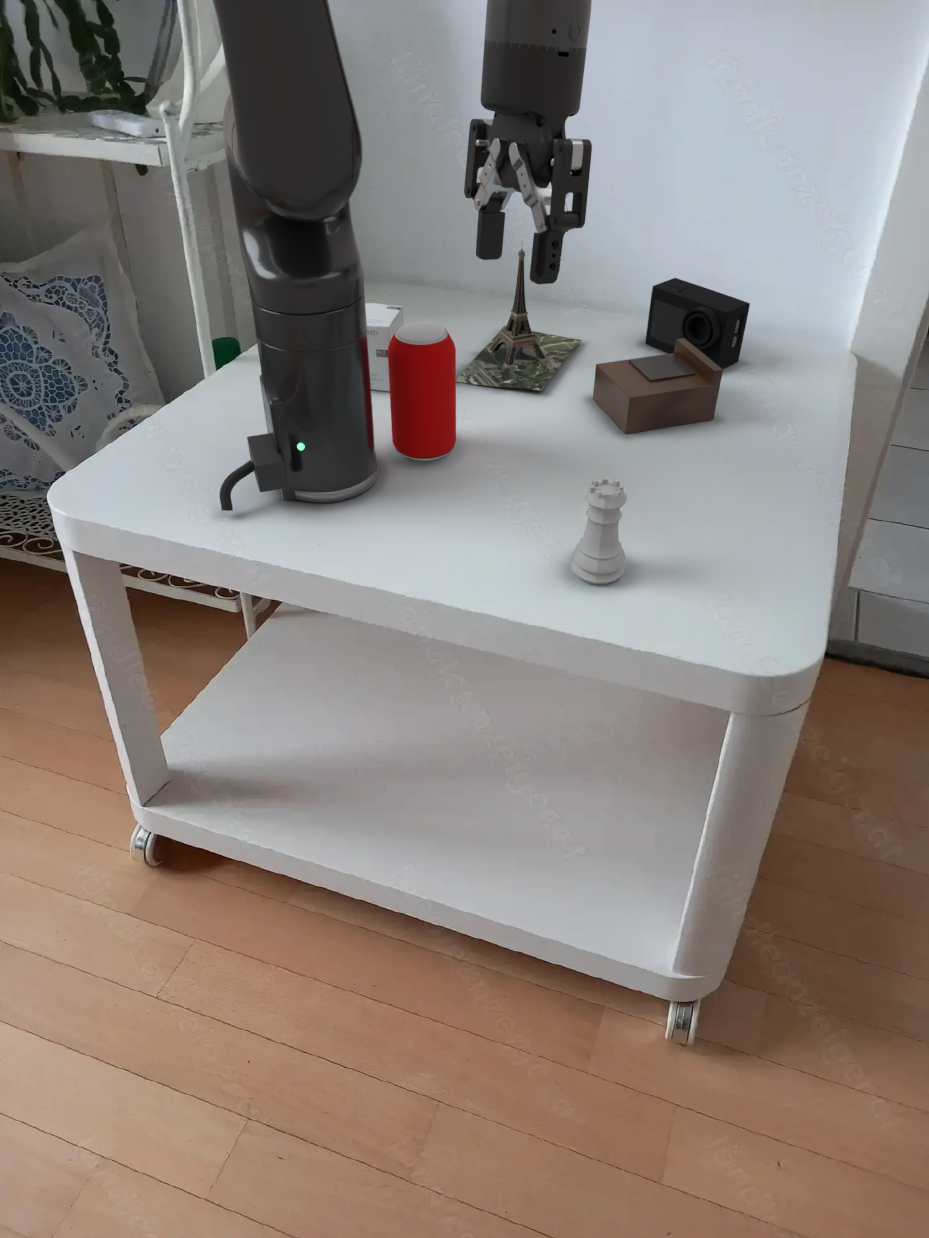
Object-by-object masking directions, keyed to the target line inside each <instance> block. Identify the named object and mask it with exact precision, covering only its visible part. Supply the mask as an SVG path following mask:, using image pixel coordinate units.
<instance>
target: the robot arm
mask: <svg viewBox="0 0 929 1238" xmlns="http://www.w3.org/2000/svg"><path fill="white" fill-rule="evenodd" d="M592 3H593V1H592V0H486V11H485V12H486V13H485V25H484V39H483V40H484V42H483V56H482V58H483V59H482V71H481V85H480V86H481V87H480V104H481V107H482V108H484V109H485V110H487V111H491V112H494V113H493V119H492V118H491V119H490V118H489V119H488V118H472V119H471V120H470V122H469V131H468V132H469V133H468V141H467V151H466V165H465V174H464V176H465V177H464V184H463V185H464V186H463V194H464V196H465V198H466V199H472V200H473V205H474V206H473V207H474V209H475V210H476V211H477V212H478V213H477V214H478V215H477V228H476V241H475V242H476V245H475V255H476V257H477V258H478V259H480V260H482V261H492V260H493V261H494V260H495V261H496V260H499V259H500V258H502V255H503V248H504V236H505V223H506V212H504V211H503V210H505V209H506V207H507V205H508V203H509V202H510V199H511V197H512V195H513V193H516V192H517V193H521V197H522V200H523V203H524V204H525V205H526V206H527V207H529V208H530V211H531V214H532V218H533V222H534V227H535V230H536V232H533V239H532V249H531V257H530V258H531V259H530V260H531V261H530V269H529V280H530V282H531V283H534V284H536V285H551V284H554V283H556V281H557V280H558V278H559V274H560V268H561V260H562V253H563V252H562V251H563V243H564V237H565V234H566V233H567V232H569V231H570V230H574V229H582V228H584V226H585V223H586V218H587V217H586V216H587V206H588V204H587V203H588V195H589V193H588V192H589V183H590V175H591V164H592V163H591V162H592V153H593V152H592V151H593V145H592V142H591V140H590V139H589V138H573V137H572V138H567V135H566V122H567V120H568V118H569V117H571V118H572V117H574V116H576V115H577V114H578V113H579V111H580V109H581V101H582V93H583V92H582V91H583V86H584V85H583V83H584V76H585V69H586V68H585V66H586V58H587V50H588V48H587V47H588V40H589V32H590V24H591V23H590V22H591V16H592V15H591V14H592ZM212 5H213V7H214V12H215V15H216V19H217V23H218V29H219V34H220V38H221V45H222V49H223V57H224V61H225V68H226V72H227V73H226V74H227V80H228V84H229V85H228V86H229V92H230V93H229V95H228V96H227V99H226V103H225V107H224V109H223V115H222V117H223V118H222V137H223V146H224V152H225V160H226V167H227V173H228V179H229V180H228V181H229V186H230V193H231V199H232V205H233V210H234V216H235V217H234V218H235V224H236V229H237V236H238V241H239V247H240V252H241V256H242V261H243V265H244V269H245V274H246V277H247V283H248V289H249V290H248V291H249V296H250V302H251V309H252V316H253V323H254V330H255V337H256V344H257V345H256V346H257V351H258V359H259V364H260V375H259V383H260V390H261V391H260V392H261V397H262V405H263V411H264V417H265V424H266V432H267V433H263V434H256V435H249V436H248V435H247V437H246V439H247V445H248V452H249V458H250V459H249V460H248V461H247V462H245V463H244V464H242V465H240V467H238V468H236V469H235V470H234V471H232V472H231V473H230V474H229V475H227V477H226V478H225V479H224V481H223V482H222V483H221V486H220V489H219V502H220V507H221V508H220V509H221V511H225V512H226V511H227V512H228V511H229V512H230V511H234V508H233V501H232V491H233V489H234V487H235V486H236V485H237V484H238V483H239V482H240V481H241V480H243V479H244V478H246V477H247V476H249V475H251V474H252V473H253V474H254V477H255V480H256V484H257V487H258V490H259V493H265V492H271V491H277V490H279V493H280V496H281V498H282V500H283V501H289V500H290V501H291V500H299V501H303V502H311V503H333V502H339V501H344V500H348V499H351V498H354V497H357V496H359V495H361V494H363V493H364V492H366V491H367V490H369V489H370V488H371V487H372V486H373V485H374V484H375V482H376V481H377V479H378V475H379V473H378V472H379V470H378V460H377V452H376V445H375V444H376V443H375V428H374V427H375V425H374V414H373V413H374V411H373V400H372V399H373V397H372V389H371V382H370V367H369V353H368V338H367V323H366V308H365V303H366V296H365V295H366V294H365V275H364V264H363V260H362V259H363V258H362V256H361V251H360V249H359V246H358V242H357V238H356V233H355V229H354V228H355V227H354V224H353V219H352V211H351V198H352V196H353V194H354V192H355V190H356V188H357V186H358V183H359V181H360V177H361V173H362V167H363V160H364V141H363V134H362V129H361V125H360V121H359V118H358V113H357V111H356V106H355V104H354V99H353V95H352V92H351V89H350V86H349V81H348V77H347V73H346V70H345V66H344V61H343V57H342V53H341V50H340V45H339V41H338V38H337V37H338V36H337V33H336V29H335V24H334V21H333V17H332V11H331V7H330V2H329V0H212ZM480 168H482V170H481V172H480V174H479V173H478V172H479V169H480ZM478 174H479V176H478ZM478 179H479V181H478ZM549 185H551V187H549ZM569 194H572V202H571V210H569V209H568V206H567V200H566V199H567V198H568V197H569ZM547 206H549V214H548V211H547Z"/></svg>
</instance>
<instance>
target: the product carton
mask: <svg viewBox="0 0 929 1238" xmlns="http://www.w3.org/2000/svg"><path fill="white" fill-rule="evenodd" d="M365 308H366V323H367V338H368V353H369V367H370V382H371V390H373V391H381V392H382V391H383V392H390V387H389V367H388V345H389V342H390V340H391V338H392V337H393V335H394V333H395V331H396V330H397V329H398V328H400V327H401V326H403V325H404V306H402V305H392V304H391V305H390V304H383V303H376V302H369V303H367V302H365Z"/></svg>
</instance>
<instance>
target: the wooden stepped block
mask: <svg viewBox="0 0 929 1238" xmlns="http://www.w3.org/2000/svg"><path fill="white" fill-rule="evenodd" d="M594 370H595V372H594V382H593V392H592V400H593V401H594V402H595V404H597V406H598V407H599V408H600V409H601V410H602V411H603V412H604V413H605V414H606V415H607V417H609V418H610V419H611V421H612V422H613V423H614V424H615V425H616V426H617V427H618V428H619V429H620V430H621V431H622V433H624V434H625V435H627V434H633V433H639V432H646V431H653V430H658V429H664V428H670V427H677V426H681V425H682V426H683V425H689V424H695V423H702V422H707V421H712V420H714V418H715V414H716V409H717V404H718V398H719V392H720V388H721V387H720V386H721V383H722V376H723V373H724V369H722V368H720V367H719V366H718V365H717V364H716V363H714V362H713V361H712V360H711V359H709V358H708V357H707V356H706V355H705V354H703V353H702V352H701V351H700V350H698V349H697V348H696V347H695V346H693V345H692V344H691V343H690V342H689V341H687V340H686V339H685V338H682V339H676V343H675V350H674V353H670V354H669V353H665V354H664V353H663V354H658V355H650V356H643V357H636V358H629V359H623V360H615V361H607V362H601V363H596V364H595V369H594Z"/></svg>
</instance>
